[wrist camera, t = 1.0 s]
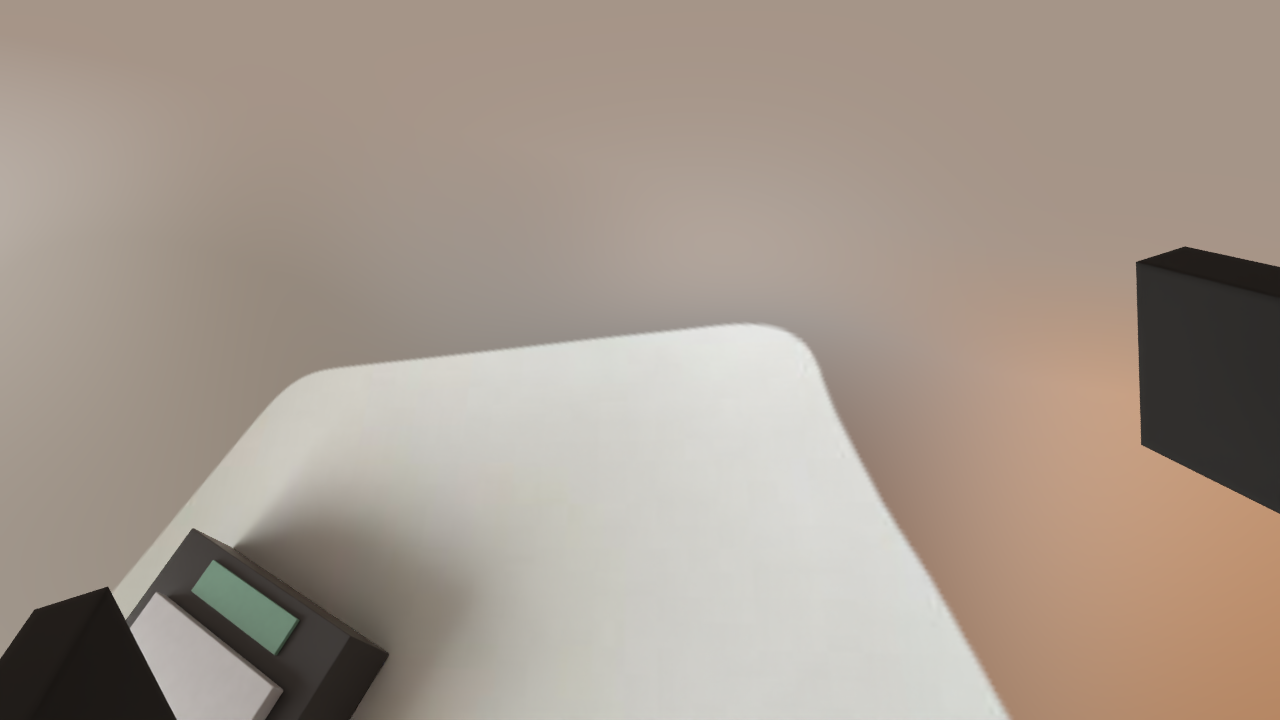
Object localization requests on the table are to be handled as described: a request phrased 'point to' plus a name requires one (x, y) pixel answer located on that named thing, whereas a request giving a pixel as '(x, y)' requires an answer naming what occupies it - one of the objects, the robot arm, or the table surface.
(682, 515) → the table surface
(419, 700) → the table surface
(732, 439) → the table surface
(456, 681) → the table surface
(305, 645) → the scale
